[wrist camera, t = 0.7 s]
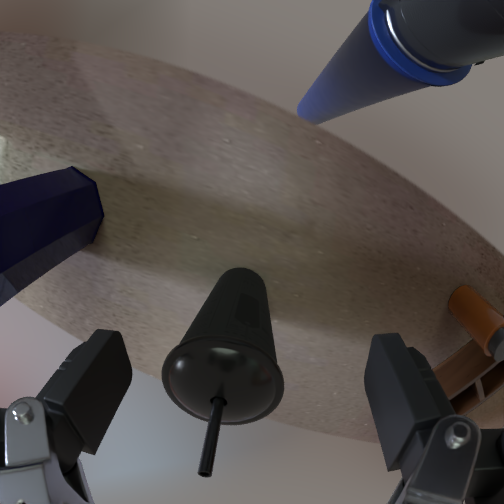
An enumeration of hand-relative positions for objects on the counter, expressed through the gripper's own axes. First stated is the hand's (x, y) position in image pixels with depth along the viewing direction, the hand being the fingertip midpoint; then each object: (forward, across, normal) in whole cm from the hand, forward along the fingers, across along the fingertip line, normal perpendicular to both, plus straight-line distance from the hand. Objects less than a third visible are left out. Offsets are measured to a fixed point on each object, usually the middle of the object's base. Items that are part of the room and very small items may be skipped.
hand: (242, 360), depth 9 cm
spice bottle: (+20, -23, +10) cm, 32 cm away
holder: (+20, -25, +22) cm, 39 cm away
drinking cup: (+20, +2, +8) cm, 22 cm away
